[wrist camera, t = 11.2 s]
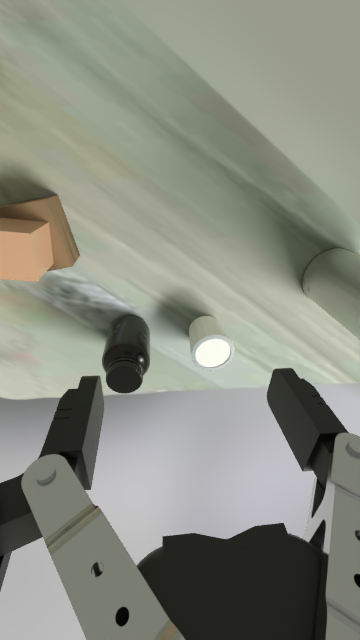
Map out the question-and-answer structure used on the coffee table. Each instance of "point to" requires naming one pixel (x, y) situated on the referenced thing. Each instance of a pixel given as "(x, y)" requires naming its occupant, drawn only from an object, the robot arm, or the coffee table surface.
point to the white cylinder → (210, 344)
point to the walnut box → (58, 224)
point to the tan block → (24, 249)
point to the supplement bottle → (126, 353)
